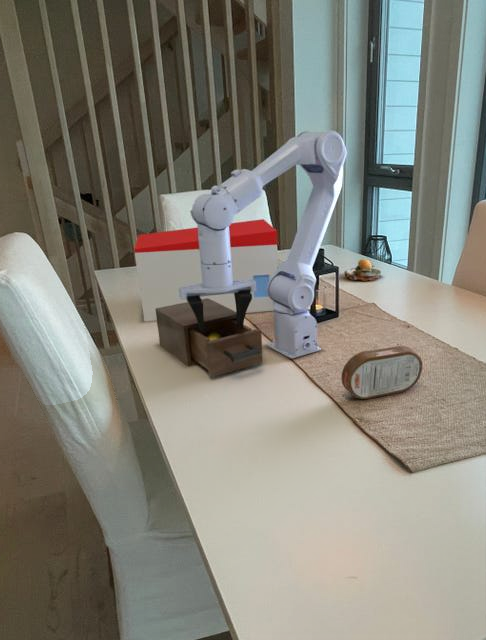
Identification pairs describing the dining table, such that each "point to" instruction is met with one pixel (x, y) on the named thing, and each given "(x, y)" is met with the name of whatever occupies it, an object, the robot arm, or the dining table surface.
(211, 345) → the drawer
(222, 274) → the robot arm
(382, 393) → the tin
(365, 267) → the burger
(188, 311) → the cabinet
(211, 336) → the yellow oval capsule
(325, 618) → the dining table surface
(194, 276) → the red-topped white box
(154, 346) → the dining table surface
